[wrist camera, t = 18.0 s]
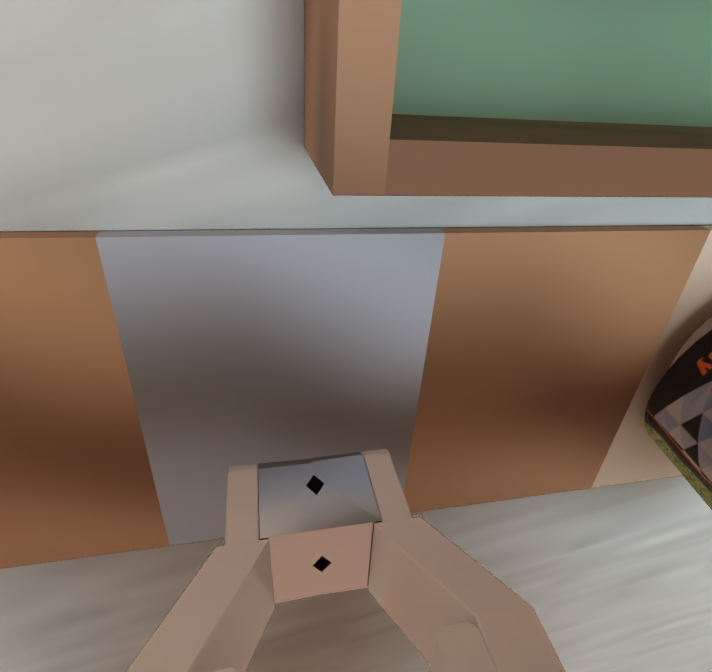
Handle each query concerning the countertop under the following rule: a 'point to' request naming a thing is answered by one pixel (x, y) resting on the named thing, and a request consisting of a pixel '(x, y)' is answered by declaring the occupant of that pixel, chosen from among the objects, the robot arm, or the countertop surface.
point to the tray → (510, 97)
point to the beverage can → (686, 412)
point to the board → (326, 367)
